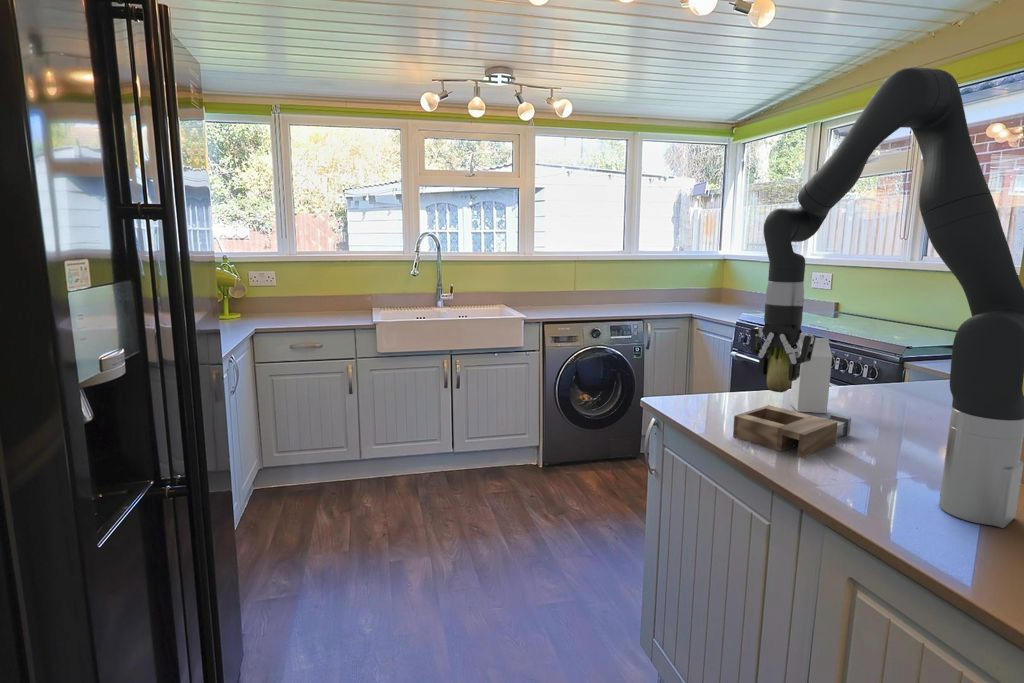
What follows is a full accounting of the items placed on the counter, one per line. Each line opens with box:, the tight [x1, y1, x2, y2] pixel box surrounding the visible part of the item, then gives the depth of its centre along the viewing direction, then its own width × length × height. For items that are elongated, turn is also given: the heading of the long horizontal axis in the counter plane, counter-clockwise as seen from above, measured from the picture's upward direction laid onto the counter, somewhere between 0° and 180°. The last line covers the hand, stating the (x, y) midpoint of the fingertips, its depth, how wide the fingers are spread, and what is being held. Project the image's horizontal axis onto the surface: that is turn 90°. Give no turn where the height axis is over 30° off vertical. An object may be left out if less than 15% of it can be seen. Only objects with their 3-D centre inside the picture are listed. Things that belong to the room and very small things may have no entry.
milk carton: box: [789, 337, 833, 414], centre depth 150 cm, size 7×7×19 cm
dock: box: [732, 404, 838, 459], centre depth 128 cm, size 16×14×5 cm
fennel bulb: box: [766, 342, 792, 393], centre depth 127 cm, size 6×5×12 cm
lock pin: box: [829, 413, 852, 439], centre depth 128 cm, size 4×13×4 cm, turn 126°
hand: (778, 376), depth 127 cm, fingers closed on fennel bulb, 6 cm apart
